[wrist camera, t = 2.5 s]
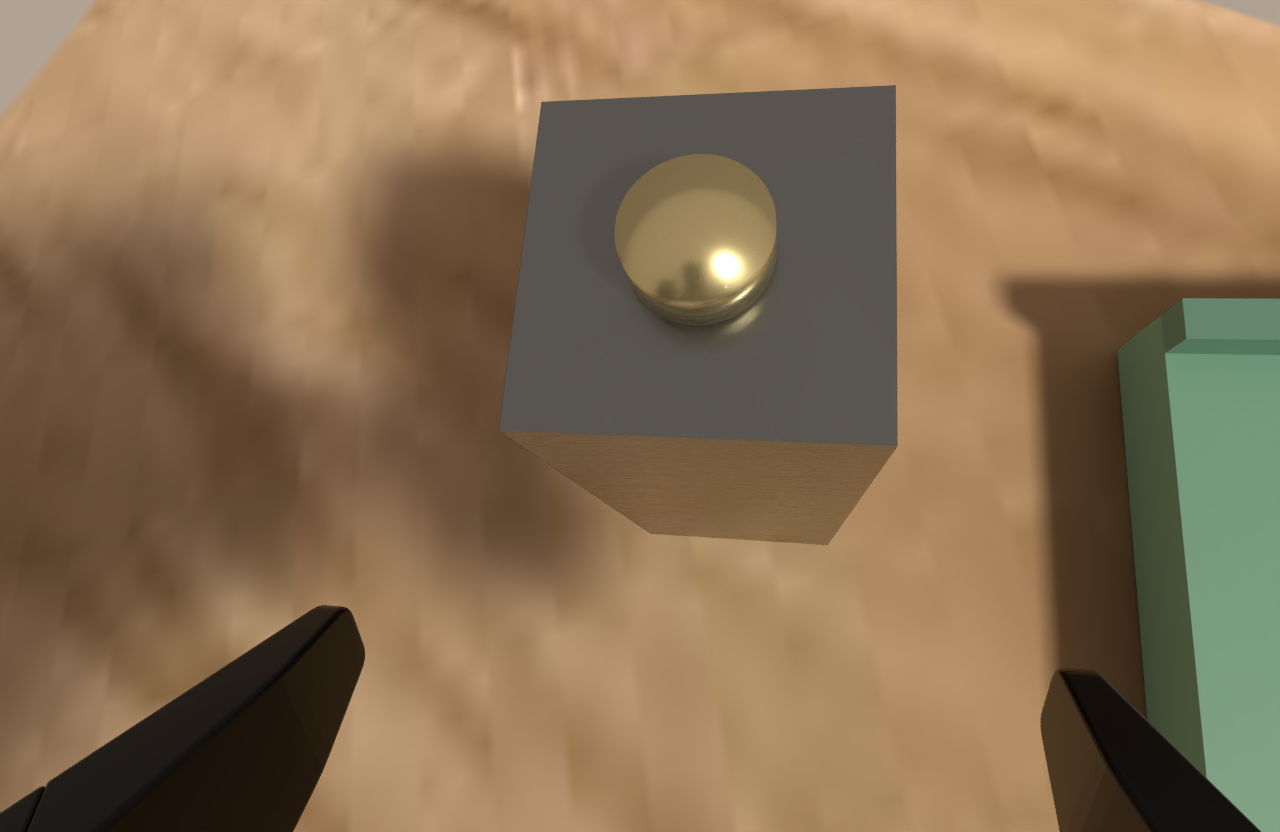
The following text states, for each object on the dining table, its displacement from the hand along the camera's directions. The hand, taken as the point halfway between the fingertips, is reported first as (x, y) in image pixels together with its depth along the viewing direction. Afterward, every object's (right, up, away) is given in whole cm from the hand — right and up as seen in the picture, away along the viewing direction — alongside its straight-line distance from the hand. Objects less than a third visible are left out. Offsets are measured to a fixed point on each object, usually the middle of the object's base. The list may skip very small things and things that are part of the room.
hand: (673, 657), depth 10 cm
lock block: (+3, +2, +12) cm, 13 cm away
